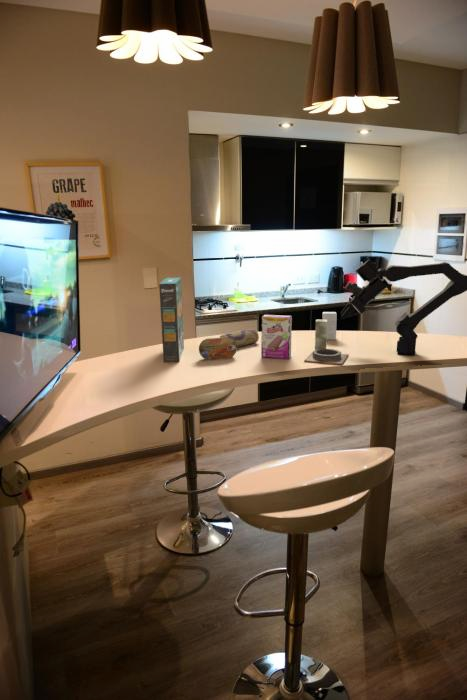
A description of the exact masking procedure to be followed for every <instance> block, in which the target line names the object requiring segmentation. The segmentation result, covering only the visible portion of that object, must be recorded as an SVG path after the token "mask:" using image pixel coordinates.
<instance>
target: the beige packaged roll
mask: <svg viewBox="0 0 467 700" xmlns="http://www.w3.org/2000/svg"><path fill="white" fill-rule="evenodd" d="M220 337H229V338H232V339H233V340H235V342H236V344H237V348H238V347H240V348H241V347H243V346H247V345H252V344H256V343H257V342H258V341H259V339H260V336H259V333H258V331H257V330H256V329H255V328H252V327H251V328H246V329H242V330H237V331H233V332H229V333H225V334H221V335H220V336H219V337H218V338H220Z"/></svg>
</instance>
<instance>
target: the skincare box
mask: <svg viewBox="0 0 467 700" xmlns="http://www.w3.org/2000/svg"><path fill="white" fill-rule="evenodd" d="M337 315H338V314H337V312H336V311H323V312H322V319H324V320H327V339H326V340H337V320H338V319H337Z"/></svg>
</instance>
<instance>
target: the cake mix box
mask: <svg viewBox="0 0 467 700" xmlns="http://www.w3.org/2000/svg"><path fill="white" fill-rule="evenodd" d="M158 287H159V301H160V303H159V304H160V321H161V322H160V323H161V337H162V355H163V356H162V358H163V363H180V361H181V358H182V356H183V352H184V349H185V341H184V339H185V338H184V320H183V318H184V315H183V314H184V313H183V295H182V277H165V278H163V280H162V281H160V282H159V284H158Z"/></svg>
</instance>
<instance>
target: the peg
mask: <svg viewBox="0 0 467 700" xmlns="http://www.w3.org/2000/svg"><path fill="white" fill-rule="evenodd" d="M314 333H315V334H314V335H315V337H314V350H317V349H327V340H328V339H327V320H324V319H320V318H319V319H315V332H314Z"/></svg>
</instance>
